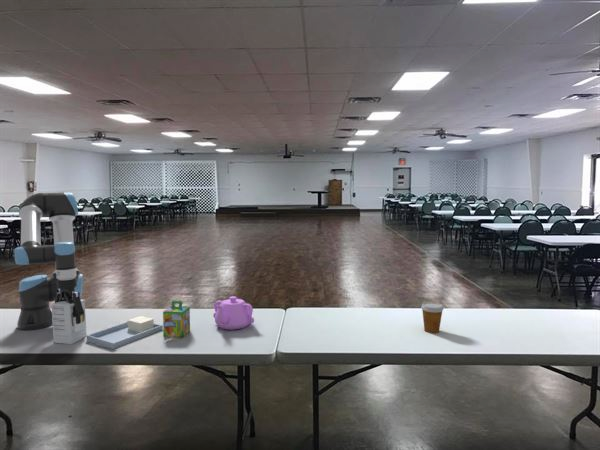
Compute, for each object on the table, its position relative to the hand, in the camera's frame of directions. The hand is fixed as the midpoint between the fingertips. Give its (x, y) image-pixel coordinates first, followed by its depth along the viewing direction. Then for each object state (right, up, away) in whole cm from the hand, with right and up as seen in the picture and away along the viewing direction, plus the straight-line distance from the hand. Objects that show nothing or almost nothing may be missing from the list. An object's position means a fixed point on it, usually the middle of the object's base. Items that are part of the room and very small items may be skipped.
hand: (69, 328), depth 183 cm
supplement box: (0, -5, 0) cm, 5 cm away
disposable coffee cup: (+158, -3, +8) cm, 159 cm away
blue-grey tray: (+22, -4, +5) cm, 23 cm away
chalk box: (+44, -4, +6) cm, 45 cm away
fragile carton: (+26, -3, +11) cm, 29 cm away
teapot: (+67, -3, +15) cm, 69 cm away
